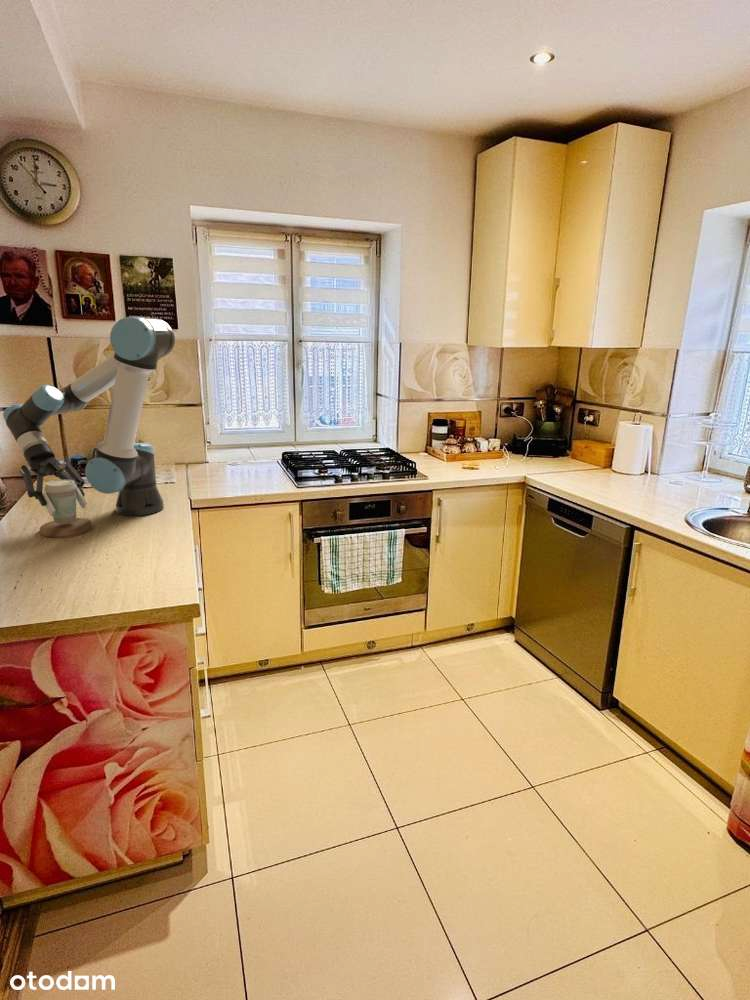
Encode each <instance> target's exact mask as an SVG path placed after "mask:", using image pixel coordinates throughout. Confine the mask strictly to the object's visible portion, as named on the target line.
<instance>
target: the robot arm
mask: <svg viewBox="0 0 750 1000" xmlns="http://www.w3.org/2000/svg"><path fill="white" fill-rule="evenodd" d="M173 330H174V329H172V327H171V326H170V325H169V323H168V322H166V321H164V320H163V319H160V318H158V317H145V316H139V315H133V316H126V317H123V318H121V319H119V320H118V321H116V322H115V324H113V326H112V328H111V330H110V333H109V334H110V335H109V342H110V346H111V347H112V351H114V353H112V354H111V355H109V356H108V357H107V358H106V359H104V360H103V361H101V362H100V363H98V364H96V365H95V366H94V367H93V368H90V370H88V371H87V372H85V373H84V374H82V375H81V376H79V377H78V378H76V379H75V380H73V381H72V382H70V383H69V384H67V385H66V386H64V387H63V388H60V389H59V388H56V387H55V386H53V385H50V384H43V385H41V386H40V387H39V388H37V389H35V391H34V392H33V393H32V394H31V396H29V398H27V399H26V401H25V402H24V403H23V404H21V403H16V404H15V403H14V404H12V405H11V406H9V407H7V408H5V409H4V411H3V413H2V416H3V419H4V421H5V425H6V426H7V428H8V430H9V431H10V432H11V434H12V436H13V438H14V440H15V442H16V444H17V445H18V446H17V447H18V448H19V449H20V451H21V453H22V454H23V456H24V459H25V460H26V463H27V464H28V465H24V464H23V465H21V467H20V470H19V473H20V474H21V475H22V477H23V480H24V483H25V488H26V492H27V495H28V498H33V497H34V498H35V500H38V501H39V504H40V506H42V507H44V506H45V508H46V510H47V512H48V513H49V516H50V517H53V515H54V513H55V511H56V510H55V509H54V507H53V505H52V503H51V501H50V499H49V498H48V496H47V494H46V492H43V488H44V487H43V485H44V477H48V476H54V477H56V478H59V480H73V481H74V482H75V484H76V486H77V488H76V501H77V502H78V504H79V506H80V507H81V509H82V510H83V509H86V506H87V504H88V503H87V501H86V499H85V495H86V494H85V491H84V489H82V488H83V487H84V485H85V483H86V481H87V482H88V483H89V484H90V486H91V488H93V489H94V490H96V491H98V492H99V493H102V494H106V495H107V494H114V493H118V495H117V498H116V502H115V512H116V513H117V514H119V515H121V516H128V515H130V516H129V517H131V516H134V517H135V516H136V515H137V516H144V515H145V516H147V515H151V513H152V514H155V512H156V513H159V512H161V511H162V510H164V508H165V507H164V505H165V504H164V500H163V497H162V495H161V493H160V490H159V489H158V486H157V477H156V465H155V464H156V463H155V453H154V449H153V445H152V444H151V443H145V442H135V441H136V438H137V434H138V428H139V423H140V419H141V415H142V410H143V405H144V400H145V396H146V391H147V386H148V381H149V378H150V377H149V376H150V374H151V373H153V372H154V371H156V370H157V366H158V362H159V360H161V359H163V358H165V357H166V356H168V355H169V354H171V352H172V351H173V350H174V347H175V343H176V337H175V332H174V331H173ZM112 387H113V391H112V396H111V402H110V406H109V410H108V417H107V421H106V427H105V432H104V436H103V437H104V438H103V440H102V441H101V442H100V443H97V445H96V448H95V454H94V458H91V459H90V460H89V461H88V462H87V463H86V465H85V468H84V474H85V479H86V481H85V479H84V478H83V477H82V476H81V475H80V474H79V472H78V471H77V470H76V469H75V468H74V467H73V466H72V464H71V462H70V459H68V458H65V459H64V460H59V459H58V458H57V457H56V456H55V454H54V452H53V450H52V448H51V446H50V444H49V442H48V441H47V439H46V437H45V435H44V433H43V432H42V430H41V426H42V425H44V423H45V422H46V421H48V419H49V418H51V417H52V416H56V415H61V414H67V413H72V412H78V411H80V410H83V409H85V408H86V407H87V405H88V403H89V402H90V401H92V400H93V399H94V398H96V397H98V396H99V395H101V394H102V393H104V392H106V391H107V390H108V389H110V388H112ZM63 469H64V470H63ZM31 471H32V472H33V473H35V474H36V488H35V486H34V482H33V479H32V475H31ZM146 514H147V515H146ZM137 516H136V517H137Z"/></svg>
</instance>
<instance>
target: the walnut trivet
mask: <svg viewBox="0 0 750 1000" xmlns="http://www.w3.org/2000/svg"><path fill="white" fill-rule="evenodd" d="M92 529H93V522H92V520H90V519H88V518H84V517H76V520H75V521H74V522H71V523H65V524H58V523H55V522H54V520H53V521H52V520H51V521H49V522H47V523H44V524H42V525H41V526H39V533H40V535H41V536H42V537H45V538H48V539H51V538H52V539H65V538H72V537H76V535H77V536H80V535H83V533H84V534H85V533H88V532H90V531H92ZM89 530H90V531H89Z"/></svg>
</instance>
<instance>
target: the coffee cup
mask: <svg viewBox="0 0 750 1000" xmlns="http://www.w3.org/2000/svg"><path fill="white" fill-rule="evenodd" d="M76 488H77V486H76V484H75V482H74V481H73V480H61V479H57V480H50V481H48V482H46V483H45V487H44V493H46V494H47V496H48V498H49V499H50V501H51V503H52V505H53V507H54V509H55V510H56V511H55V513H54V515H53V516H52V517H53V521H54V522H55V523H58V524H65V523H71V522H74V521H75V520H76V518H77V499H76Z"/></svg>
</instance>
